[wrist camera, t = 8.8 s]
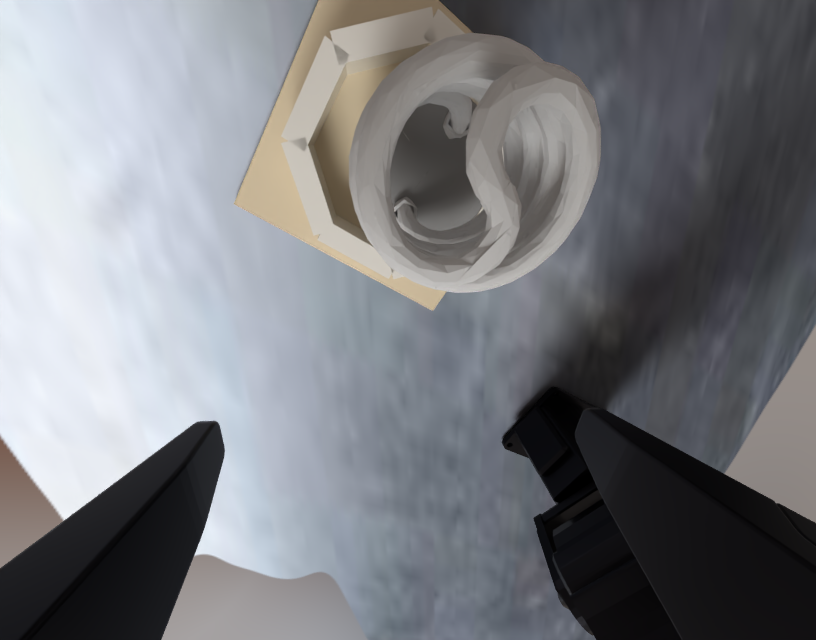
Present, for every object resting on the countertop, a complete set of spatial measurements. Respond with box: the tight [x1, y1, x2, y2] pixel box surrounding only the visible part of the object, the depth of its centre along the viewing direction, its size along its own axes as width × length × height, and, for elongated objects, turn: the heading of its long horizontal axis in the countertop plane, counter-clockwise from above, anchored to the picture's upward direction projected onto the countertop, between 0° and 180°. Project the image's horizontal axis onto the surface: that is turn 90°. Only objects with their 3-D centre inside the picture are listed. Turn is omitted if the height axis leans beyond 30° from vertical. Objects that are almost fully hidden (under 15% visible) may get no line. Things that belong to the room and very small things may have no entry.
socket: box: [234, 0, 504, 311], centre depth 16 cm, size 12×12×3 cm
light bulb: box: [349, 33, 601, 293], centre depth 12 cm, size 6×6×12 cm
